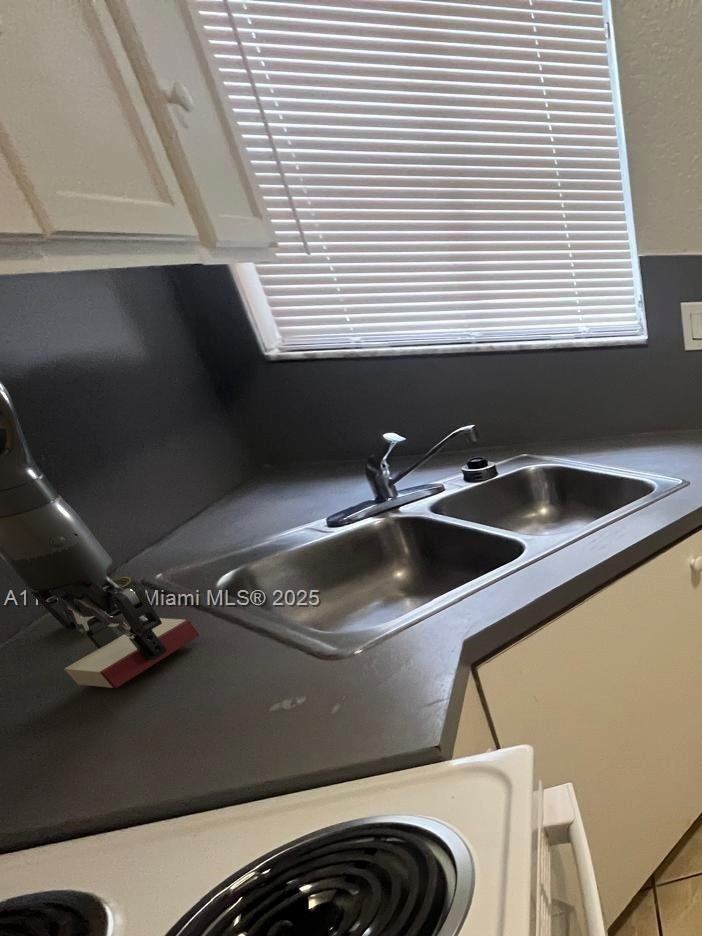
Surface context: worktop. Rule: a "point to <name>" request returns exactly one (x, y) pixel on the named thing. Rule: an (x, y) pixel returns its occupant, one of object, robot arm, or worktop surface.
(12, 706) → the worktop surface
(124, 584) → the tape measure
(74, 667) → the pocket book
